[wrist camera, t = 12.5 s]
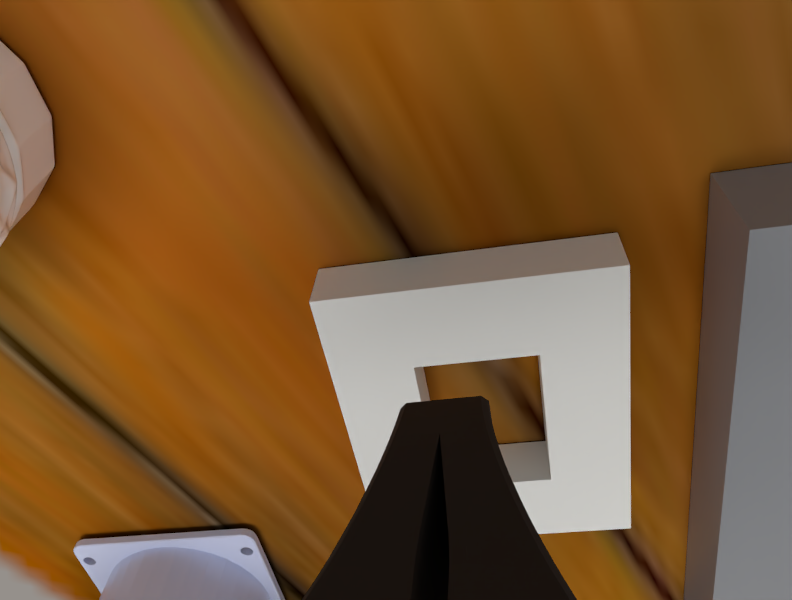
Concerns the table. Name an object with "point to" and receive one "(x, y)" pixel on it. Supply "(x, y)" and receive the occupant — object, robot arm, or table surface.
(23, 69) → the white cup
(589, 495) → the square frame
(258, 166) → the table surface
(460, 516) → the robot arm
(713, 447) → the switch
